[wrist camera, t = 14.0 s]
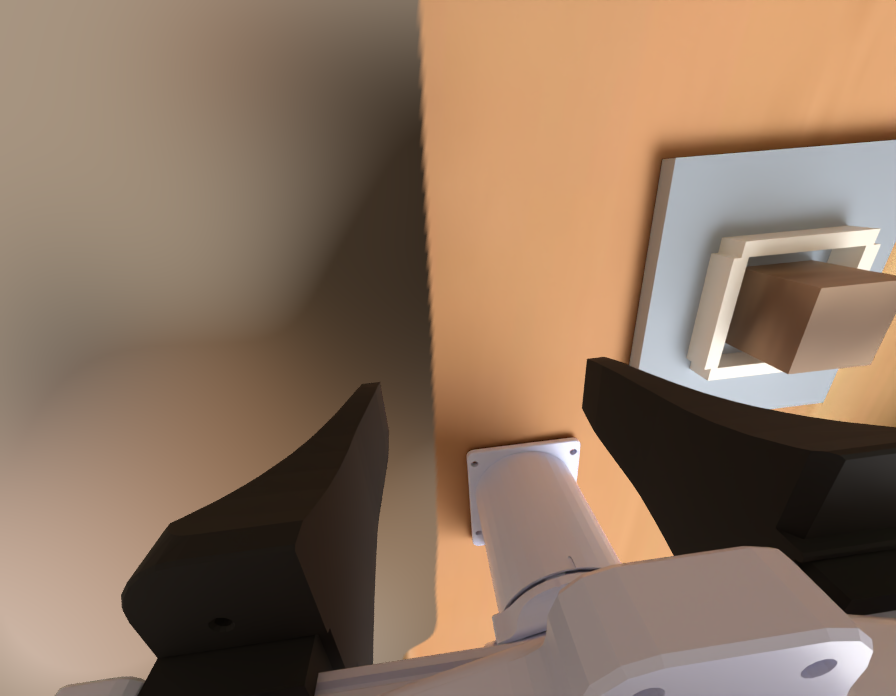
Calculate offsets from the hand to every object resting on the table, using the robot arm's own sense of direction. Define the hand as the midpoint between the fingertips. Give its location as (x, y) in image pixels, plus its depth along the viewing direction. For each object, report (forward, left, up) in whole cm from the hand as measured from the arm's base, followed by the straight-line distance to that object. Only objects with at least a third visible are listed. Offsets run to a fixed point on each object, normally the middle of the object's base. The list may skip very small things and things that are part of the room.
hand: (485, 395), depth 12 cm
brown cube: (-1, -18, -8) cm, 20 cm away
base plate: (-1, -18, -9) cm, 20 cm away
